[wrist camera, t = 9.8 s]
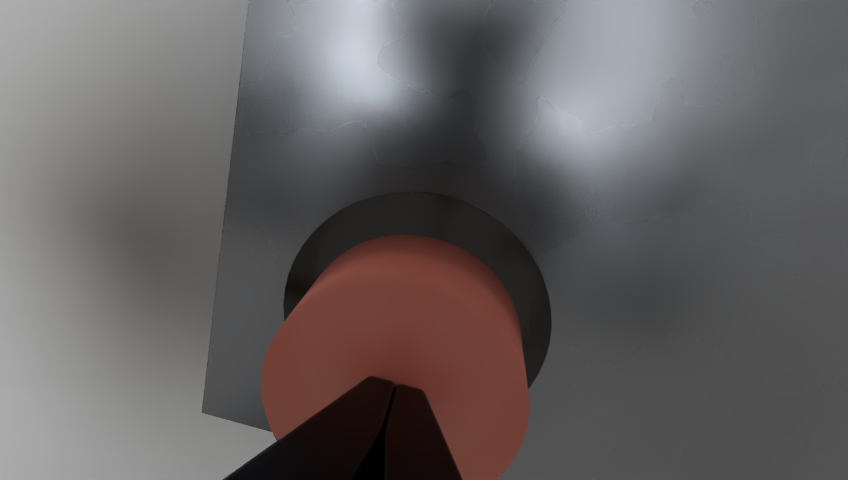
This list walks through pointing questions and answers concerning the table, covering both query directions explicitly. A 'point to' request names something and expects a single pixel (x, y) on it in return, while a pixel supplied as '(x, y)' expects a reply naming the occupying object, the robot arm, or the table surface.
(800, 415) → the panel
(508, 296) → the button
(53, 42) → the table surface
